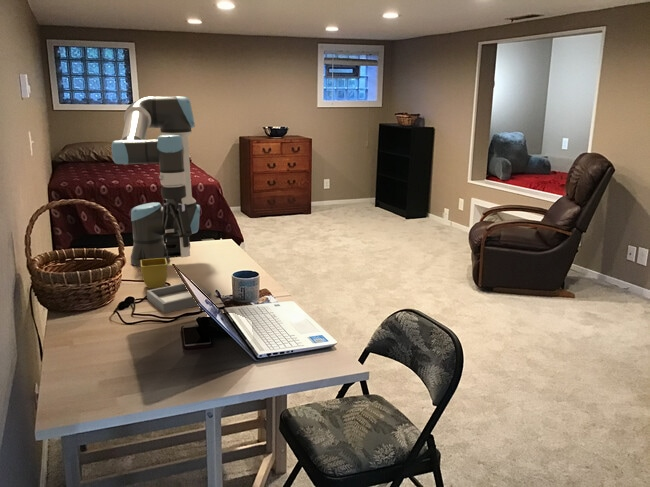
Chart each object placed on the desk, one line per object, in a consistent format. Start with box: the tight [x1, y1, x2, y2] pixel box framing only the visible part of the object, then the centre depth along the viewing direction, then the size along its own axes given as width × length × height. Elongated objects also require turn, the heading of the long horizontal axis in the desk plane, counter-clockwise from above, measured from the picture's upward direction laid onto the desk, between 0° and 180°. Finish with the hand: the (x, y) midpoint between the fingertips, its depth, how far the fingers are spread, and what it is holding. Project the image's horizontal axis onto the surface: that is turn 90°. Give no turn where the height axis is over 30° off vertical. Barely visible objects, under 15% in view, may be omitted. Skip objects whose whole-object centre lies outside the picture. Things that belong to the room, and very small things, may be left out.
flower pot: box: [140, 258, 168, 289], centre depth 200 cm, size 9×9×9 cm
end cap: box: [164, 230, 191, 259], centre depth 183 cm, size 10×7×7 cm
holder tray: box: [146, 282, 212, 314], centre depth 187 cm, size 15×16×3 cm
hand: (178, 252), depth 183 cm, fingers closed on end cap, 11 cm apart
